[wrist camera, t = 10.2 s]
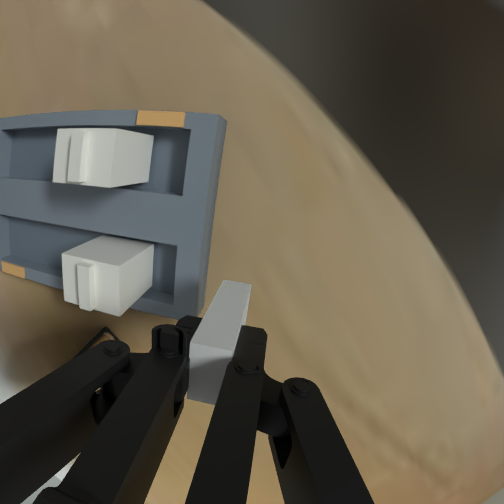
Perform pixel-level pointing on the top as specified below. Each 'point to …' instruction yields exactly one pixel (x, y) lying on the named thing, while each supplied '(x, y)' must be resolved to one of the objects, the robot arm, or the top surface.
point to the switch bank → (114, 201)
